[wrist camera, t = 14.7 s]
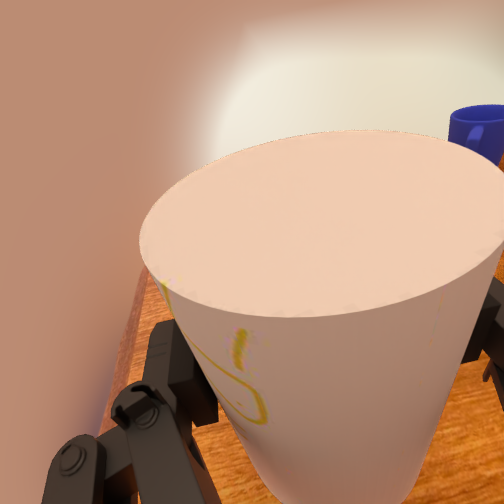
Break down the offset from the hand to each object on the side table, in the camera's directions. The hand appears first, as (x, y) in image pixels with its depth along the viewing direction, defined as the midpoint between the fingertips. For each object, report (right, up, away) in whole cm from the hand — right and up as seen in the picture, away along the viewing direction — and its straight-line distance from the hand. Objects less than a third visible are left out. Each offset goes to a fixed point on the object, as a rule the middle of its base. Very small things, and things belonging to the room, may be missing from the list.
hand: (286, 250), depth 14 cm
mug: (+33, +11, +34) cm, 49 cm away
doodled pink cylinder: (+2, -8, 0) cm, 8 cm away
